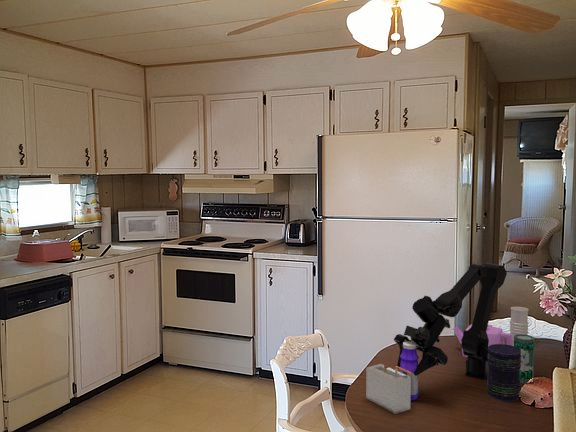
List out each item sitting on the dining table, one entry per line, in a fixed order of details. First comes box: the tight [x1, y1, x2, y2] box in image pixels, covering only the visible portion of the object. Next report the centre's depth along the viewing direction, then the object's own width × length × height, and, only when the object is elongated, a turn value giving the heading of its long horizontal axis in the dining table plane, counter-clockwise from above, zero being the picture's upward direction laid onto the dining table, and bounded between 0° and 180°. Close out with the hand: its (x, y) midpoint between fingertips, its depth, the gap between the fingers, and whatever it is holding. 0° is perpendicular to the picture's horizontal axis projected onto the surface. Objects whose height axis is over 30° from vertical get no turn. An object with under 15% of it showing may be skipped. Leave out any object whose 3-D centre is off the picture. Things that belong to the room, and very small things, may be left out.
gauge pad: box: [385, 365, 412, 378], centre depth 167 cm, size 2×11×10 cm, turn 33°
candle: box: [509, 306, 530, 346], centre depth 218 cm, size 7×7×15 cm
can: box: [514, 334, 536, 385], centre depth 182 cm, size 6×6×15 cm
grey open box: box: [365, 363, 411, 415], centre depth 165 cm, size 6×13×10 cm, turn 33°
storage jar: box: [486, 343, 521, 402], centre depth 171 cm, size 10×10×15 cm
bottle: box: [399, 340, 420, 401], centre depth 170 cm, size 7×6×17 cm
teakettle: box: [452, 323, 513, 359], centre depth 207 cm, size 17×17×12 cm
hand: (406, 371), depth 169 cm, fingers closed on bottle, 7 cm apart
